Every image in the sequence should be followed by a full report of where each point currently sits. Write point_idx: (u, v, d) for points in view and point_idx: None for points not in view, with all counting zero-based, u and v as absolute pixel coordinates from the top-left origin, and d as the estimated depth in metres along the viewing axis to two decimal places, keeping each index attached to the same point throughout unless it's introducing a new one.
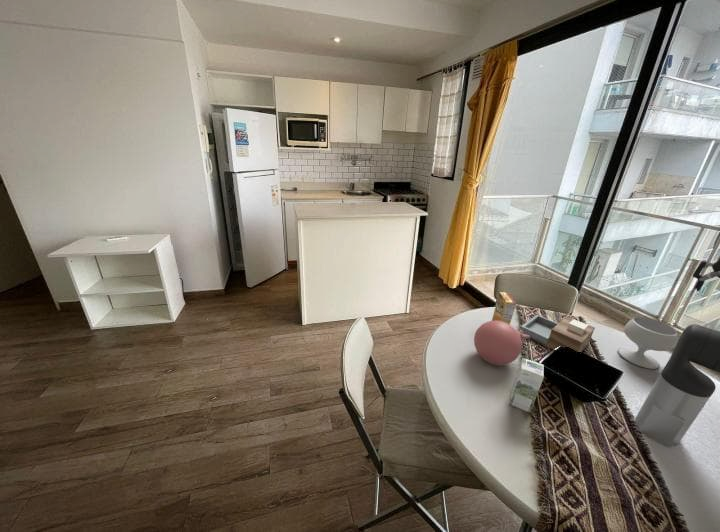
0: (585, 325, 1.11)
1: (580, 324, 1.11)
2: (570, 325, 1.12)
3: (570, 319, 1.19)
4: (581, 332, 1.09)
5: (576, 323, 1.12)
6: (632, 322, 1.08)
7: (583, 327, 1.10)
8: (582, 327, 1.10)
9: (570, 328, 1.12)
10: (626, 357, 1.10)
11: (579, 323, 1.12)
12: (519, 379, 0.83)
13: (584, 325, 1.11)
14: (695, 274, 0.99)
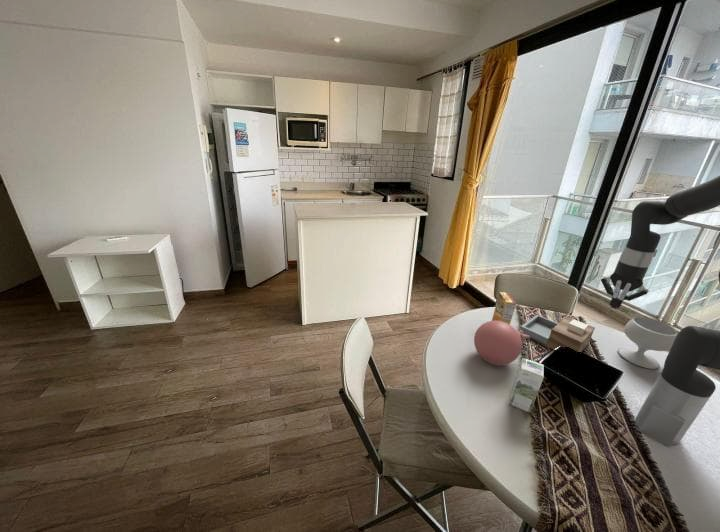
0: (585, 325, 1.11)
1: (580, 324, 1.11)
2: (570, 325, 1.12)
3: (570, 319, 1.19)
4: (581, 332, 1.09)
5: (576, 323, 1.12)
6: (632, 322, 1.08)
7: (583, 327, 1.10)
8: (582, 327, 1.10)
9: (570, 328, 1.12)
10: (626, 357, 1.10)
11: (579, 323, 1.12)
12: (519, 379, 0.83)
13: (584, 325, 1.11)
14: (609, 291, 1.01)
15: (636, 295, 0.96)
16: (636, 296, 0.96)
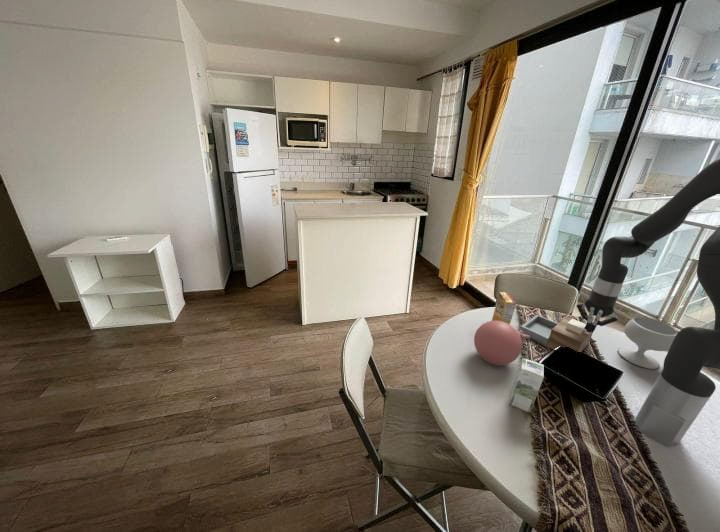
0: (584, 324, 1.11)
1: (579, 324, 1.12)
2: (569, 324, 1.12)
3: (570, 319, 1.19)
4: (580, 331, 1.10)
5: (575, 322, 1.13)
6: (632, 322, 1.08)
7: (582, 326, 1.10)
8: (580, 327, 1.10)
9: (569, 327, 1.12)
10: (626, 357, 1.10)
11: (578, 322, 1.13)
12: (519, 379, 0.83)
13: (583, 324, 1.11)
14: (584, 316, 1.09)
15: (607, 321, 1.04)
16: (607, 322, 1.04)
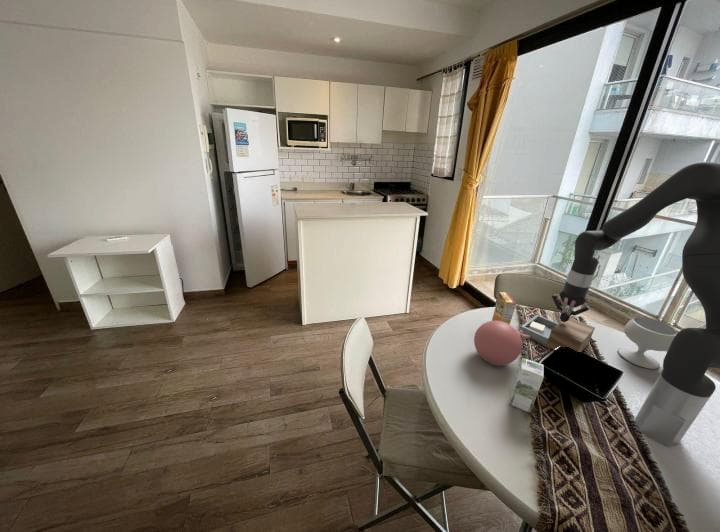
0: None
1: None
2: None
3: (570, 319, 1.19)
4: (530, 328, 1.22)
5: None
6: (632, 322, 1.08)
7: None
8: None
9: (539, 331, 1.20)
10: (626, 357, 1.10)
11: None
12: (519, 379, 0.83)
13: None
14: (559, 307, 1.15)
15: (580, 311, 1.10)
16: (579, 312, 1.10)
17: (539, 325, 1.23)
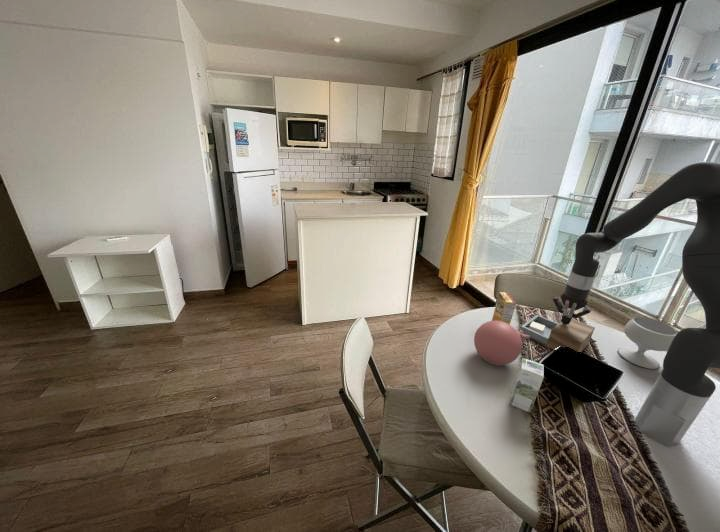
0: None
1: None
2: None
3: None
4: (530, 328, 1.22)
5: None
6: (632, 322, 1.08)
7: None
8: None
9: (539, 331, 1.20)
10: (626, 357, 1.10)
11: None
12: (519, 379, 0.83)
13: None
14: (560, 309, 1.14)
15: (581, 313, 1.09)
16: (581, 314, 1.09)
17: (539, 325, 1.23)
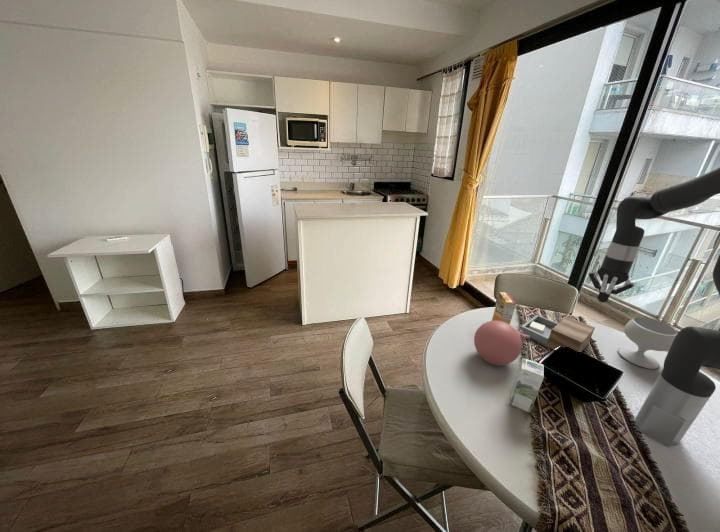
0: None
1: None
2: None
3: (570, 319, 1.19)
4: (530, 328, 1.22)
5: None
6: (632, 322, 1.08)
7: None
8: None
9: (539, 331, 1.20)
10: (626, 357, 1.10)
11: None
12: (519, 379, 0.83)
13: None
14: (596, 285, 1.04)
15: (622, 289, 0.98)
16: (622, 290, 0.98)
17: (539, 325, 1.23)
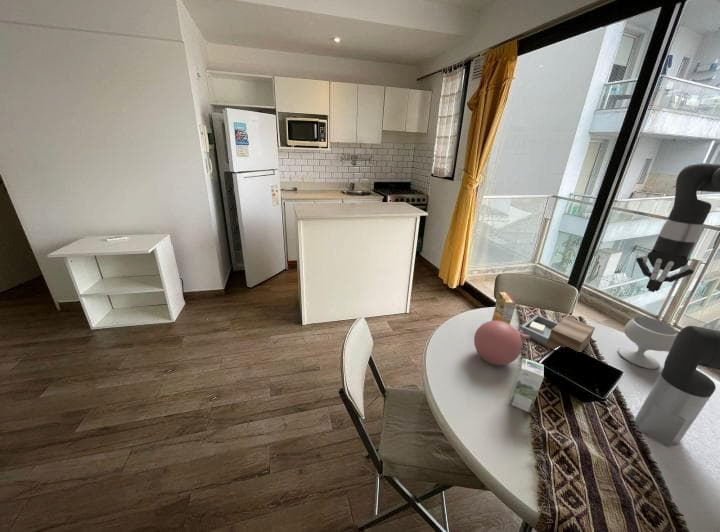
0: None
1: None
2: None
3: (570, 319, 1.19)
4: (530, 328, 1.22)
5: None
6: (632, 322, 1.08)
7: None
8: None
9: (539, 331, 1.20)
10: (626, 357, 1.10)
11: None
12: (519, 379, 0.83)
13: None
14: (646, 272, 0.89)
15: (680, 275, 0.83)
16: (679, 276, 0.83)
17: (539, 325, 1.23)
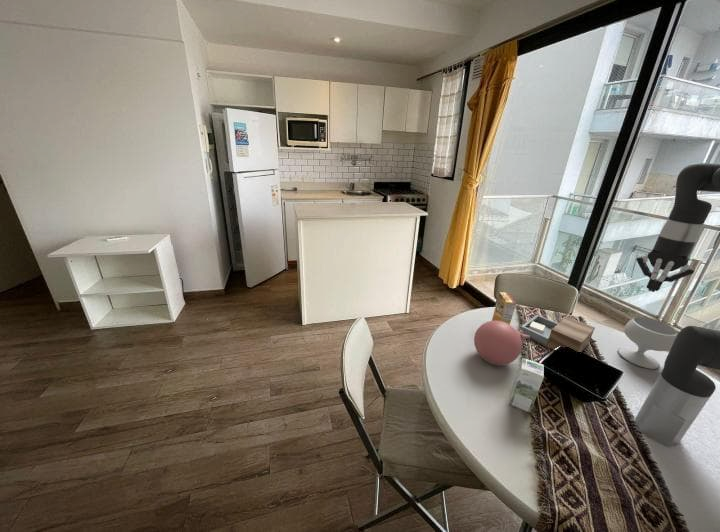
0: None
1: None
2: None
3: (570, 319, 1.19)
4: (530, 328, 1.22)
5: None
6: (632, 322, 1.08)
7: None
8: None
9: (539, 331, 1.20)
10: (626, 357, 1.10)
11: None
12: (519, 379, 0.83)
13: None
14: (646, 272, 0.89)
15: (680, 275, 0.83)
16: (679, 276, 0.83)
17: (539, 325, 1.23)
